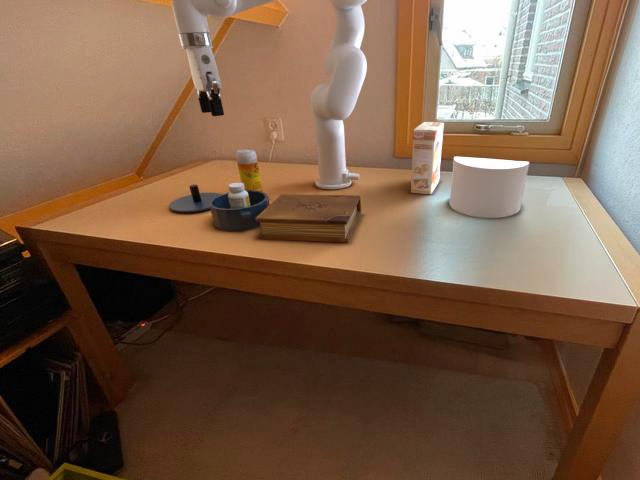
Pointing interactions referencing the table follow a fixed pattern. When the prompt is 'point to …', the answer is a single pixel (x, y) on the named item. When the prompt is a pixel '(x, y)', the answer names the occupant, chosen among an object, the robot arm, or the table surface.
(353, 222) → the diary
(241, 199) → the supplement bottle
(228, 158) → the table surface
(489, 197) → the container
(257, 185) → the beer can
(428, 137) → the coffeecake box
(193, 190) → the pan lid
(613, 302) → the table surface
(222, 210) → the pan
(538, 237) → the table surface
